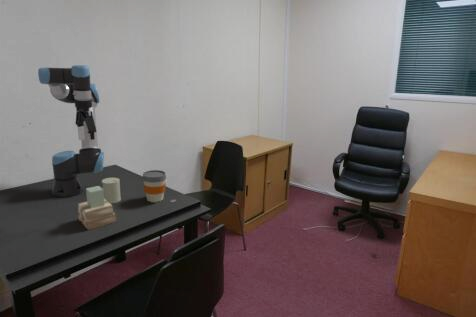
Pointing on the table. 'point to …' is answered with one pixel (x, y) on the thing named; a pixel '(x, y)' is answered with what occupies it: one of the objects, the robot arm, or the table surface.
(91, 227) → the block
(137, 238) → the table surface
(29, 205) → the table surface
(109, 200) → the can
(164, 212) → the table surface
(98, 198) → the green block
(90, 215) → the tower top
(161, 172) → the reusable coffee cup
